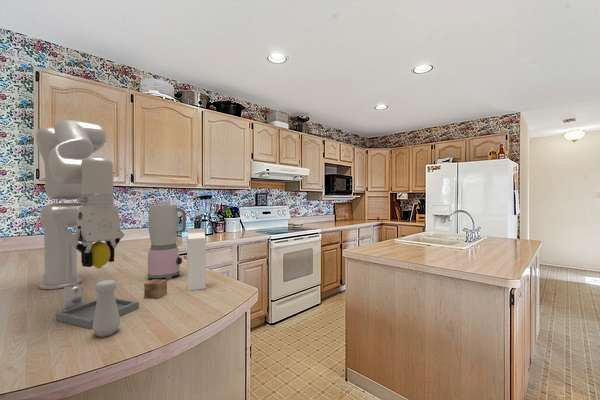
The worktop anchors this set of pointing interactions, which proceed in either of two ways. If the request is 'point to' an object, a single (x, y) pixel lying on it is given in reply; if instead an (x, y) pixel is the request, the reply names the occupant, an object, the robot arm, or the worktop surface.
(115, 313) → the salt shaker
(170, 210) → the blender
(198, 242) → the milk
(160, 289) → the walnut block
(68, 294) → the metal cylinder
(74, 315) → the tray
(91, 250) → the lemon
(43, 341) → the worktop surface
